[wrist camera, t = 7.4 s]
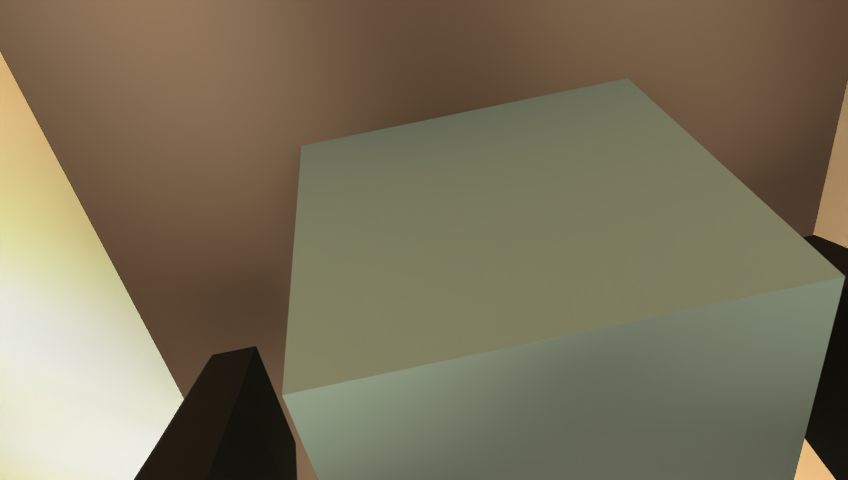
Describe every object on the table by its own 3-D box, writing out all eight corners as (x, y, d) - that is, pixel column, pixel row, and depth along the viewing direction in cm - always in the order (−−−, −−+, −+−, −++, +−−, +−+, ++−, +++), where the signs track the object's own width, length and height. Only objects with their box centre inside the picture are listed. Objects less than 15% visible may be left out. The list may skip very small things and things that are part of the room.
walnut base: (778, -228, 10) (918, -238, 8) (708, 326, 17) (772, 413, 15) (37, -88, 10) (-55, -54, 8) (260, 416, 17) (248, 520, 15)
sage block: (627, 78, 10) (845, 276, 6) (625, 323, 13) (769, 576, 9) (301, 145, 10) (281, 394, 6) (371, 377, 13) (393, 656, 8)
